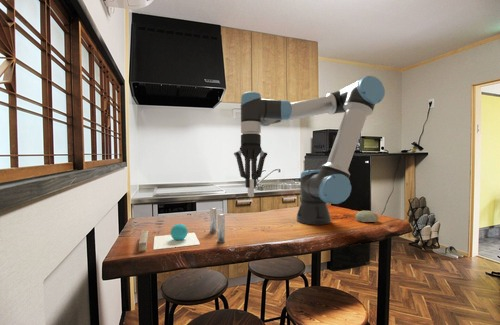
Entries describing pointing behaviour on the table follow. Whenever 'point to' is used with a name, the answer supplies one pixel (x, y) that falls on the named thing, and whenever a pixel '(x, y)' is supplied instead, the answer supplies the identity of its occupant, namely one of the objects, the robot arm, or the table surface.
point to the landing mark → (174, 241)
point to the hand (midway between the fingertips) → (250, 196)
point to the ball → (179, 232)
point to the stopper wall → (143, 241)
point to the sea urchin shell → (366, 216)
